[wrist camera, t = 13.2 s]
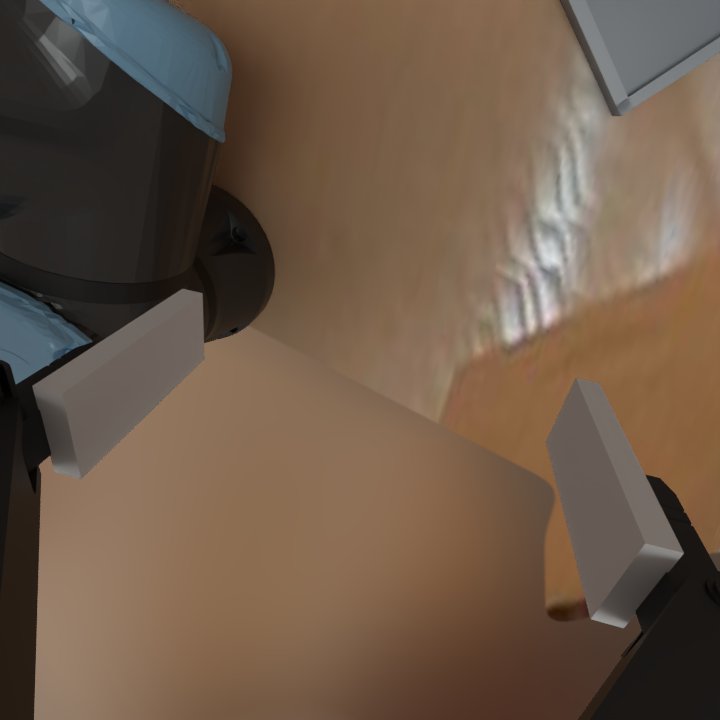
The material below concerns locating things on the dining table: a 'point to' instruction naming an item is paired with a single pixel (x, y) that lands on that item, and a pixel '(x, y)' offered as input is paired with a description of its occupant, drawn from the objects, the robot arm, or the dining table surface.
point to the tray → (643, 43)
